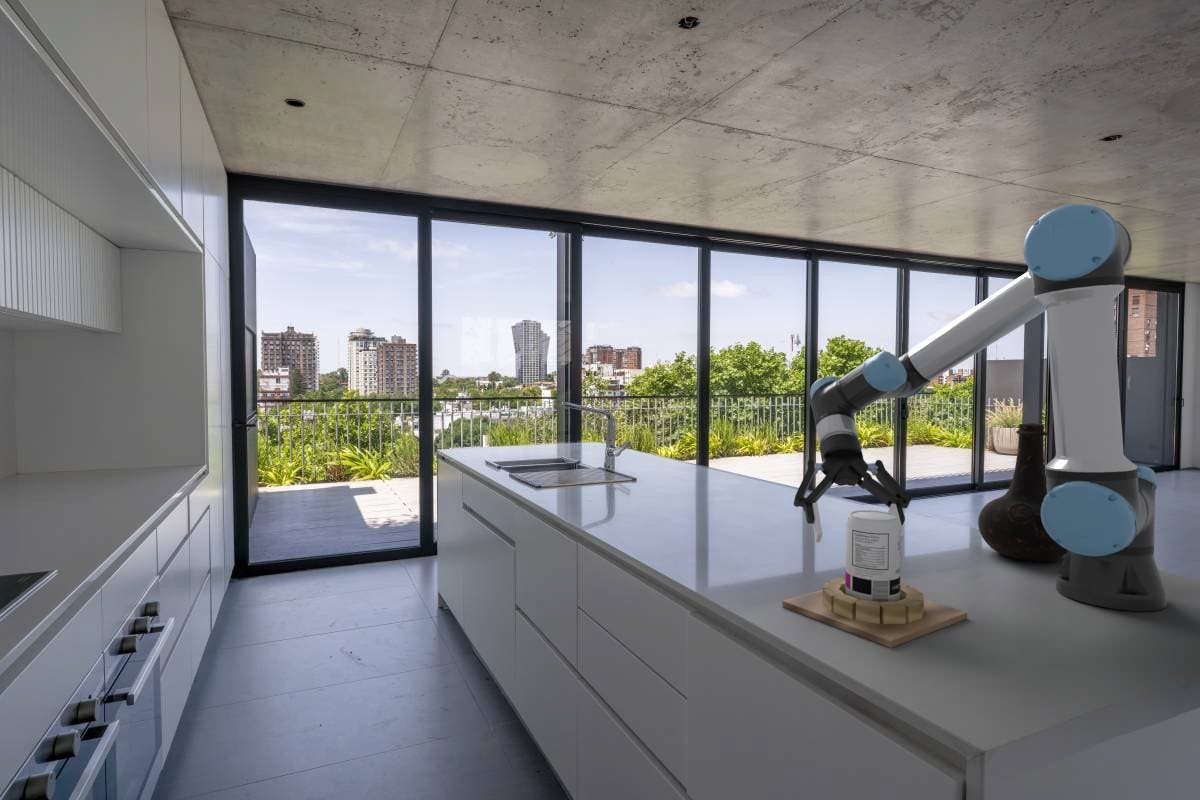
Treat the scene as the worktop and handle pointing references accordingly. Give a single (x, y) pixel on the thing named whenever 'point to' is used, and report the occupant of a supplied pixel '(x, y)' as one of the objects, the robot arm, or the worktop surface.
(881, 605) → the hub seat
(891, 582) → the supplement can
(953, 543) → the worktop surface
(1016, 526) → the dark vase
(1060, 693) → the worktop surface
